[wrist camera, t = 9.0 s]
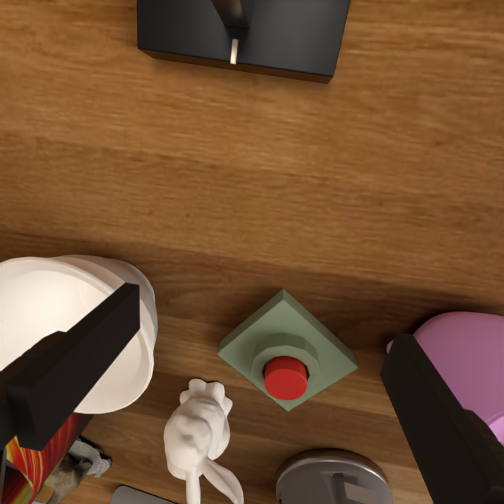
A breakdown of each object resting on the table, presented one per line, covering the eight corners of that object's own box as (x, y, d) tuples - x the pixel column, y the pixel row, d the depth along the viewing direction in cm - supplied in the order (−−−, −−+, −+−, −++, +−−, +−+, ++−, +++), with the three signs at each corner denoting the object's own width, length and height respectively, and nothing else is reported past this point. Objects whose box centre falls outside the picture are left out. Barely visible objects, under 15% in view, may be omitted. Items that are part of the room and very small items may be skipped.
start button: (314, 373, 27) (316, 387, 26) (285, 392, 29) (285, 407, 27) (286, 348, 26) (286, 361, 25) (257, 369, 28) (255, 383, 26)
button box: (353, 352, 30) (363, 382, 26) (287, 395, 33) (287, 426, 30) (283, 287, 28) (282, 309, 24) (220, 340, 32) (211, 366, 28)
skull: (121, 451, 43) (98, 492, 37) (86, 491, 46) (59, 536, 40) (66, 415, 42) (34, 452, 36) (33, 459, 44) (-2, 499, 39)
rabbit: (188, 360, 33) (140, 469, 22) (262, 385, 33) (250, 506, 22) (169, 423, 38) (121, 539, 27) (233, 444, 38) (212, 569, 27)
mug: (11, 325, 34) (-120, 412, 23) (116, 362, 35) (36, 465, 24) (12, 378, 38) (-101, 474, 27) (106, 411, 38) (34, 520, 27)
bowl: (183, 362, 33) (151, 430, 26) (58, 336, 34) (-10, 394, 26) (191, 240, 27) (153, 280, 19) (40, 212, 28) (-56, 240, 20)
